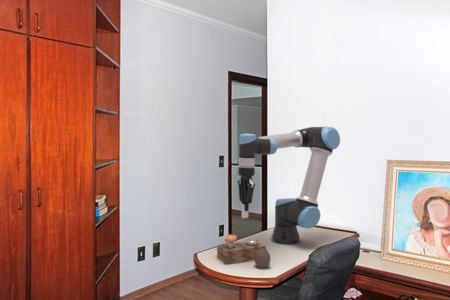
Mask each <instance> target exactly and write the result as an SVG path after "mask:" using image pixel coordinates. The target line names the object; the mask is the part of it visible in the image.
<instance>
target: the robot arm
mask: <svg viewBox="0 0 450 300" xmlns="http://www.w3.org/2000/svg"><path fill="white" fill-rule="evenodd" d="M238 140H239V142H238V170H237V171H238V172H237V173H238V174H237V175H238V176H240V177H239V178H240V180H237V184H238V195H239V196H238V197H239V198H238V199H239V202H241V219H248V218H249V208H250V207H249V204H252V202H253V195H254V189H255V186H256V183H254V182H253V176H255V173H256V172H255V171H256V170H255V167H256V155H269V156H270V155H274V154H276V153H277V151H278V150H279V149H284V148H292V147H294V148H297V149H298V148H309V150H310V152H311V153H310V154H311V155H310V157H309V162H308V166H307V169H306V172H305V176H304V180H303V182H302V187H301V190H300V194H299V196H298V197H296V198H294V197H293V198H292V197H290V198H287V197H286V198H279V199H276V200H275V205H274V207H275V208H274V211H275V212H274V217H275V218H274V228H273V231H272V234H271V241H272V242H275V243H277V244H283V245H295V244H298V243H299V242H300V234H299V231H298V227H300V228H303V229H313V228H314V227H316V226H317V225H318V223H319V222H320V220H321V219H320V218H321V210H320V209H319V203H318V201H317V199H318V195H319V193H320V188H321V185H322V180H323V176H324V173H325V169H326V166H327V161H328V158H329V157H330V156H331V155H332V154H333V151H334V150H335V149H337V148H338V147H339V146H340V144H341V135H340V133H339V131H338V130H337V129H336V127H333V126H326V125H325V126H311V127H305V128H301V129H295V130H293V131H292V132H287V133H280V134H273V135H264V136H263V135H262V136H256V134H255V133H241V134H240V135H239V139H238Z"/></svg>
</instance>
